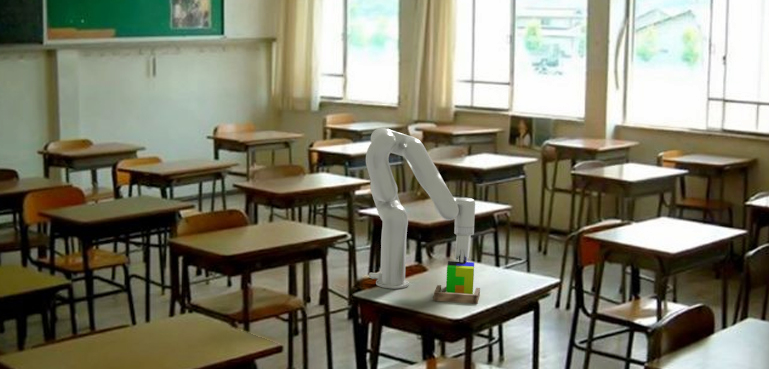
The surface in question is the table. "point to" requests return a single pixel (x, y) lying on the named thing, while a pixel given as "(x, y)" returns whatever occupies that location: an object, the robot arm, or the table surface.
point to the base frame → (456, 296)
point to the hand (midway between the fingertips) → (462, 276)
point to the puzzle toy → (460, 277)
